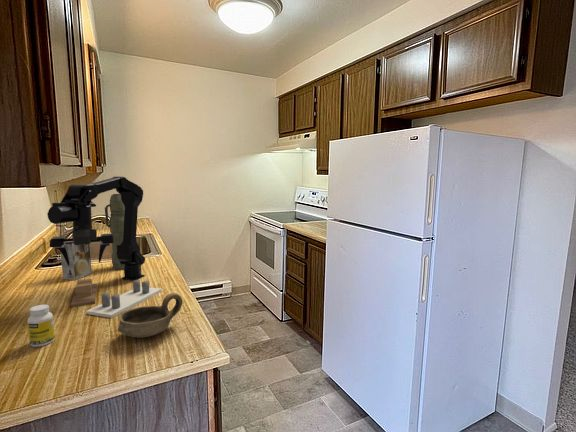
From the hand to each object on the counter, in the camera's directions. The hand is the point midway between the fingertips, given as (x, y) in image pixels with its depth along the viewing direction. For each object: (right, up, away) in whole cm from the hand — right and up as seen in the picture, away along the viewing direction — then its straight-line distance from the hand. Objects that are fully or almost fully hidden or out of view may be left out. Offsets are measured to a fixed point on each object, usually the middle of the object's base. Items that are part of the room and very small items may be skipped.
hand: (84, 264), depth 115 cm
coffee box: (-19, -9, +26) cm, 33 cm away
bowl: (+33, -16, -22) cm, 43 cm away
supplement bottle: (+7, -17, -28) cm, 34 cm away
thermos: (-7, -8, +40) cm, 41 cm away
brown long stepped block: (-2, -13, +4) cm, 14 cm away
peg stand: (+16, -13, -1) cm, 21 cm away
